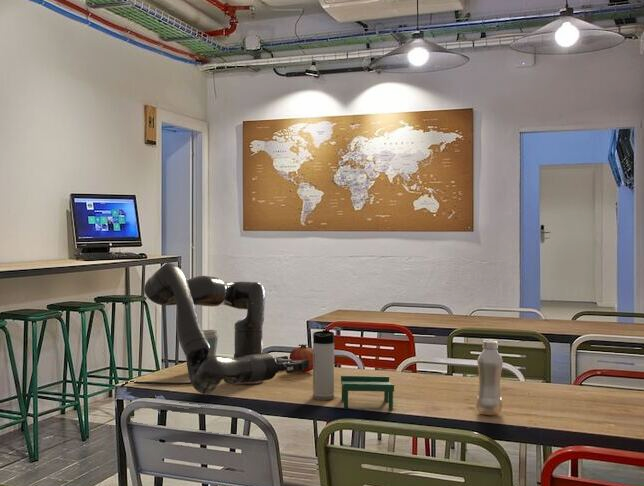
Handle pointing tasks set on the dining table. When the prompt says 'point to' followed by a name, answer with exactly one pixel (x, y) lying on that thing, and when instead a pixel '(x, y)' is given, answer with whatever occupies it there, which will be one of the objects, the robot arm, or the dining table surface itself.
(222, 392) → the dining table surface
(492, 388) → the plastic bottle
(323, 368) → the travel mug
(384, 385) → the stand
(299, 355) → the fruit
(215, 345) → the disposable coffee cup
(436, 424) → the dining table surface
